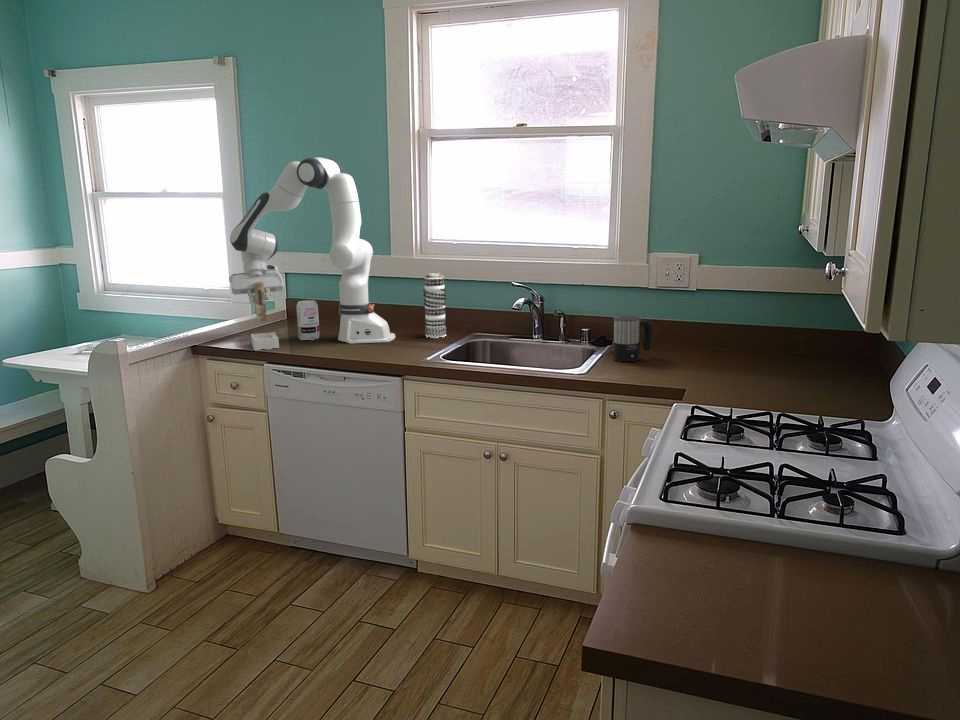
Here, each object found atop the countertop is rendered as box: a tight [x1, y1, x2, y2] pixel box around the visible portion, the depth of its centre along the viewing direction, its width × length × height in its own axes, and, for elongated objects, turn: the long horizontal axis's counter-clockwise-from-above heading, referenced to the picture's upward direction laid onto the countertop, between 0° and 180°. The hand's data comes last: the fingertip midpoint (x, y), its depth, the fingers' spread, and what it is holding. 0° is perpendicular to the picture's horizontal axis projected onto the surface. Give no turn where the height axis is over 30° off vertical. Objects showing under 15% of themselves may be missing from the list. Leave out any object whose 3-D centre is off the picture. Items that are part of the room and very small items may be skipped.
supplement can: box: [295, 299, 321, 341], centre depth 298 cm, size 8×8×15 cm
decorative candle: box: [422, 272, 447, 339], centre depth 300 cm, size 9×9×25 cm
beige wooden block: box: [253, 282, 268, 323], centre depth 298 cm, size 4×5×15 cm
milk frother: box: [611, 314, 653, 362], centre depth 261 cm, size 14×16×15 cm
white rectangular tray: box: [250, 331, 280, 351], centre depth 287 cm, size 12×9×4 cm
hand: (260, 299), depth 297 cm, fingers closed on beige wooden block, 3 cm apart
